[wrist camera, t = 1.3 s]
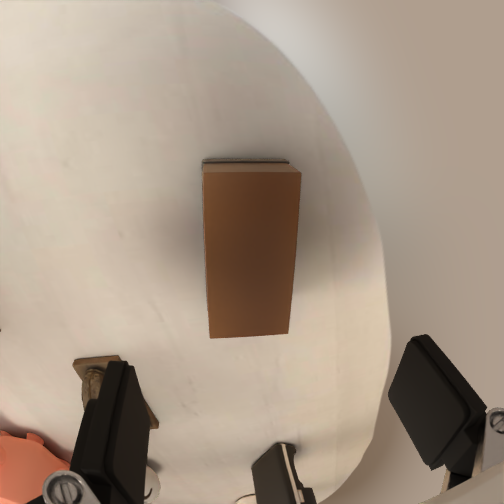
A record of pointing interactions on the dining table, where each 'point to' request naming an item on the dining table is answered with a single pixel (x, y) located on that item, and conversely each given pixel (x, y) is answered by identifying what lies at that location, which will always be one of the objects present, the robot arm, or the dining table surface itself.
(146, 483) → the ornament
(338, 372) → the dining table surface
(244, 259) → the eraser
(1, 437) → the teapot
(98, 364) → the figurine
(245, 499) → the can
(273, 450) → the battery charger
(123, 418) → the robot arm
